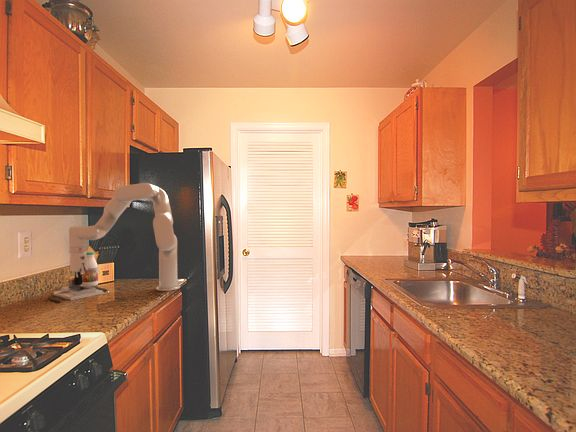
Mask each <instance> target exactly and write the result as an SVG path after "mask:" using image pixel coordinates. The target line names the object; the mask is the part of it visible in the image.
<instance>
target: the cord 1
mask: <svg viewBox="0 0 576 432" xmlns="http://www.w3.org/2000/svg"><path fill="white" fill-rule="evenodd" d="M48 300H51V301H54V302H56V303H59V304H61V303H62V302H63V301H62V299H58V298H56V297H52V296H49V297H48Z"/></svg>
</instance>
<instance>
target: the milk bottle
mask: <svg viewBox="0 0 576 432" xmlns="http://www.w3.org/2000/svg"><path fill="white" fill-rule="evenodd" d="M86 254H87V262H88V270H87V271H84V274H83V277H82V280H83V284H82V285H86V286H90V287H95V286H96V287H97V286H99V285H98V284H99V270H98V269H99V268H98V263H97V260H96V258H95V251H86Z"/></svg>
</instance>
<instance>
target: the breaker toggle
mask: <svg viewBox="0 0 576 432" xmlns="http://www.w3.org/2000/svg"><path fill="white" fill-rule="evenodd" d="M68 286H69V288H72V289H76V290H81V285H74V276H69V277H68Z"/></svg>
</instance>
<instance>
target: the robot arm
mask: <svg viewBox="0 0 576 432" xmlns="http://www.w3.org/2000/svg"><path fill="white" fill-rule="evenodd" d="M140 200H149V201H150V200H151V202H152V205H153V209H154V218H153V220H152V227H153V232H154V233H153V234H154V237H155V238H154V239H155V243H156V246H157V248H158V249H159V250H158V274H159V275H158V282H159V283H158V284H159V285H157V286H156V291H158V292H159V291H160V292H168V291H169V292H170V291H175V290H179V289H180V288H181V285H180V284H183V283H185V279H184V278H182V279H178V238H177V236H176V234H175V233H174V227H173V225H174V219H173V215H172V209H171V205H170V200H169V196H168V194H167V193H166V191H165V190H164V189H162V188H161V187H159V186H157V185H154V184H151V183H148V182H141V183H136V184H135V183H133V184H126V185H121V186H118V187H116V188H115V190H114V191H113V197H111V199H110V200H109V202H108V203H107V204H106V205H105V206H104V208H103V214H102V216H101V217H100V218H99V220H98V221H97V222H96V223H95V224H94V225H89V226H82V225H80V226H70V227H69V229H68V253H69V254H70V255H69V270H70V271H71V272H72V273H73V277H74V285H81V284H82V285H83V280H82V277H83V274H84V271H87V270H88V262H87V254H86V252H87V241H96V240H100V239H102V238H104V237H105V236H106V234H108V233H109V231H110V230H111V229H112V228H113V226H115V224H116V222H117V221H118V219H119V217H120V216H121V215H122V214H123V213H124V211H126V210H127V208H128V207H129V206H130V205H131V203H132V202H133V201H140Z"/></svg>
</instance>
